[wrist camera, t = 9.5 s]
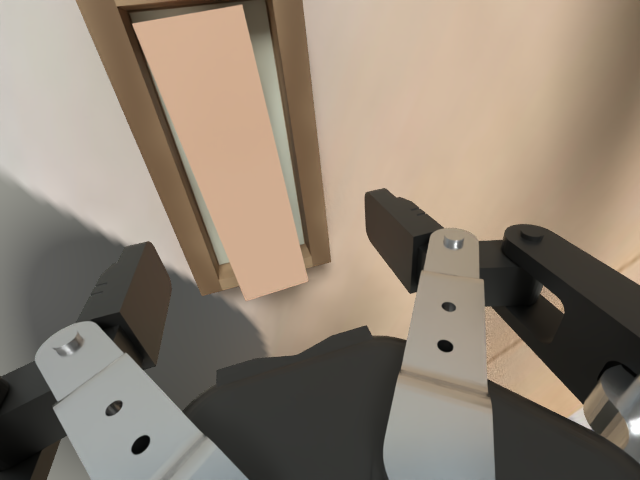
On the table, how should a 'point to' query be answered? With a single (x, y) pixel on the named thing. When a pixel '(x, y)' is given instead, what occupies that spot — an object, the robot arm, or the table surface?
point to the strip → (228, 141)
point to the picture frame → (163, 142)
